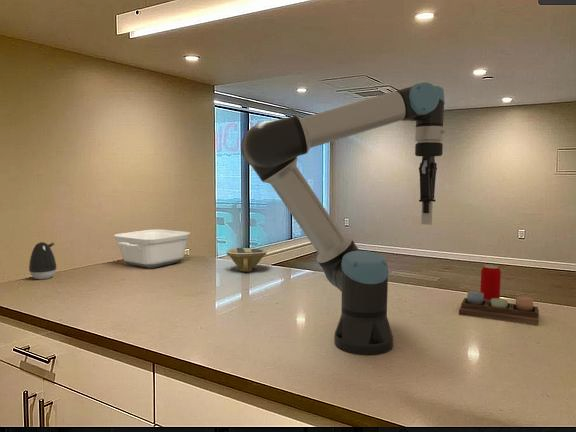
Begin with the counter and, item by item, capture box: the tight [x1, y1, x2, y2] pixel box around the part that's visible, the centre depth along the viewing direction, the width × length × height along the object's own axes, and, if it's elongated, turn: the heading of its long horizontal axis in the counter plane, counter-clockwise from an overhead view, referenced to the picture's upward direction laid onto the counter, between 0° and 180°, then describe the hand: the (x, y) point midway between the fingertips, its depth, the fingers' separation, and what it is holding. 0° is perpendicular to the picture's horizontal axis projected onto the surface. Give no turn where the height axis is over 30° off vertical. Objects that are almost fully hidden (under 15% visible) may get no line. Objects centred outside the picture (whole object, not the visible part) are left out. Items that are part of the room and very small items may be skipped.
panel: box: [458, 297, 540, 326], centre depth 145 cm, size 12×22×3 cm, turn 62°
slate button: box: [466, 290, 484, 304], centre depth 148 cm, size 5×5×3 cm
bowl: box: [226, 247, 267, 273], centre depth 209 cm, size 18×18×10 cm
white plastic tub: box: [113, 228, 191, 269], centre depth 223 cm, size 34×29×15 cm
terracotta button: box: [515, 296, 534, 311], centre depth 142 cm, size 5×5×3 cm
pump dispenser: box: [28, 241, 57, 280], centre depth 194 cm, size 10×10×15 cm
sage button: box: [491, 297, 509, 309], centre depth 145 cm, size 5×5×3 cm
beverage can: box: [479, 264, 502, 301], centre depth 161 cm, size 6×6×12 cm
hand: (426, 224), depth 135 cm, fingers closed
